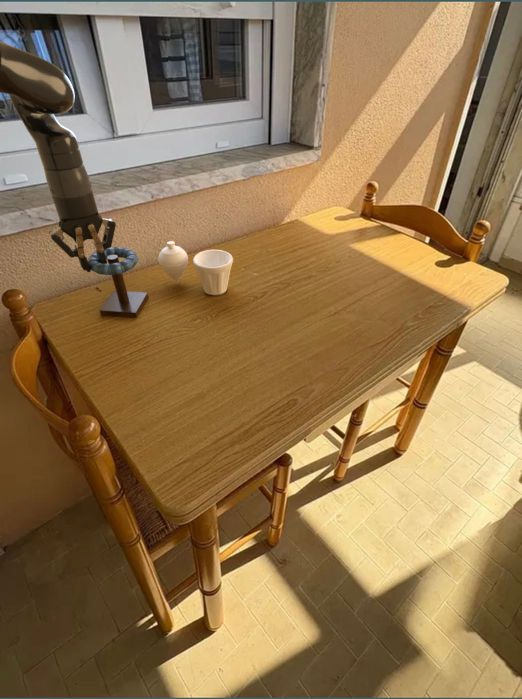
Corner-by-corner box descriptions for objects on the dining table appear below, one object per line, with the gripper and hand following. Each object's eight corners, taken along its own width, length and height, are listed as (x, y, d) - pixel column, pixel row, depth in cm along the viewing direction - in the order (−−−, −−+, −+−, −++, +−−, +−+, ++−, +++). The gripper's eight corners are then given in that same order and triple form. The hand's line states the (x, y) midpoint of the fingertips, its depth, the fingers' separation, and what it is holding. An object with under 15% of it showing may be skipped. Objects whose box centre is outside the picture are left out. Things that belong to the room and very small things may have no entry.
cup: (190, 296, 99) (186, 264, 93) (205, 277, 106) (202, 247, 100) (226, 303, 97) (224, 270, 91) (239, 283, 104) (238, 252, 98)
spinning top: (182, 273, 108) (176, 233, 100) (196, 284, 103) (191, 243, 96) (157, 282, 104) (149, 241, 96) (171, 294, 100) (164, 252, 92)
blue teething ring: (80, 274, 84) (77, 264, 83) (101, 253, 92) (99, 243, 91) (128, 278, 83) (125, 268, 82) (144, 256, 92) (143, 247, 90)
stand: (100, 315, 92) (84, 265, 84) (115, 295, 99) (101, 247, 90) (136, 317, 92) (124, 267, 83) (148, 297, 99) (138, 249, 90)
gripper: (100, 178, 80) (119, 254, 91) (28, 191, 74) (58, 270, 85) (113, 188, 75) (131, 266, 87) (37, 202, 69) (67, 285, 80)
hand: (95, 268), depth 86 cm, fingers closed on blue teething ring, 2 cm apart
